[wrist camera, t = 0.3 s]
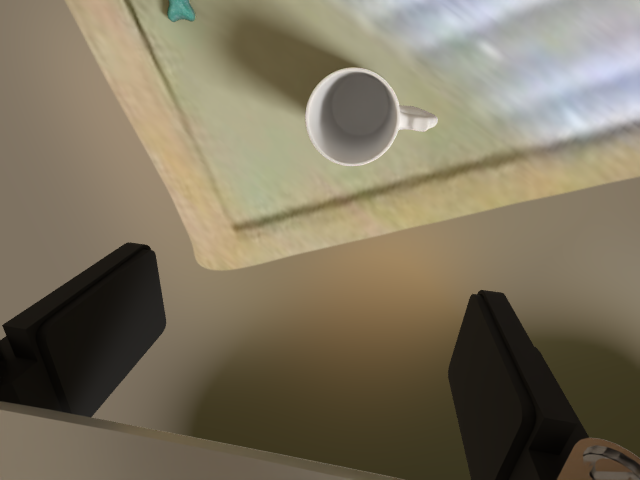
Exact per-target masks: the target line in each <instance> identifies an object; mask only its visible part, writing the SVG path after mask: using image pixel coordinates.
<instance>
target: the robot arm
mask: <svg viewBox="0 0 640 480" xmlns="http://www.w3.org/2000/svg"><path fill="white" fill-rule="evenodd" d="M2 326H3V328H4V331H5V333H6V337H4V338H3V339H2V340H0V480H403V479H399V478H394V477H389V476H384V475H379V474H374V473H370V472H365V471H360V470H355V469H350V468H344V467H340V466H335V465H330V464H325V463H320V462H315V461H310V460H305V459H300V458H296V457H291V456H286V455H281V454H276V453H271V452H265V451H260V450H255V449H250V448H245V447H240V446H235V445H230V444H225V443H220V442H215V441H210V440H204V439H199V438H194V437H189V436H184V435H179V434H174V433H169V432H164V431H159V430H153V429H149V428H143V427H137V426H132V425H127V424H122V423H116V422H112V421H107V420H101V419H96V418H91V417H92V416H93V415H94V413H95V412H96V411H97V410H98V409H99V407H100V406H101V405H102V404H103V403H104V402H105V400H106V399H107V398H108V397H109V396H110V394H111V393H112V392H113V391H114V390H115V388H116V387H117V386H118V385H119V384H120V383H121V381H122V380H123V379H124V378H125V377H126V375H127V374H128V373H129V372H130V371H131V369H132V368H133V367H134V366H135V365H136V363H137V362H138V361H139V360H140V359H141V358H142V356H143V355H144V354H145V353H146V352H147V350H148V349H149V348H150V347H151V346H152V345H153V343H154V342H155V341H156V340H157V339H158V337H159V336H160V335H161V334H162V332H163V331H164V329H165V326H166V317H165V311H164V305H163V298H162V292H161V286H160V280H159V273H158V267H157V260H156V255H155V252H154V251H152V250H151V248H150V247H149V246H148V245H144V244H136V243H126V244H124V245H122V246H121V247H119V248H118V249H116V250H115V251H113V252H112V253H111V254H109V255H107V256H106V257H104V258H103V259H101V260H100V261H99V262H97V263H96V264H94V265H92V266H91V267H89V268H88V269H87V270H85V271H83V272H82V273H81V274H79V275H77V276H76V277H74V278H73V279H71V280H70V281H68V282H67V283H65V284H64V285H63V286H61V287H59V288H58V289H56V290H55V291H53V292H52V293H50V294H49V295H47V296H46V297H44V298H43V299H41V300H40V301H39V302H37V303H35V304H34V305H32V306H31V307H29V308H28V309H26V310H25V311H23V312H22V313H20V314H19V315H17V316H15V317H14V318H13V319H11V320H9V321H8V322H6V323H5V324H4V325H2ZM448 378H449V382H450V387H451V392H452V396H453V400H454V405H455V409H456V414H457V418H458V422H459V427H460V432H461V436H462V440H463V445H464V449H465V454H466V458H467V462H468V467H469V471H470V476H471V480H640V458H639V457H637V456H636V455H634V454H633V453H632V452H630V451H628V450H626V449H625V448H623V447H621V446H619V445H617V444H615V443H612V442H609V441H606V440H603V439H596V438H589V436H588V435H587V433H586V431H585V429H584V428H583V426H582V424H581V422H580V421H579V419H578V417H577V415H576V414H575V412H574V410H573V409H572V407H571V405H570V404H569V402H568V400H567V398H566V397H565V395H564V393H563V391H562V389H561V388H560V386H559V384H558V383H557V381H556V379H555V378H554V376H553V374H552V372H551V371H550V369H549V367H548V365H547V364H546V362H545V360H544V358H543V357H542V355H541V353H540V352H539V351H538V349H537V348H536V347H534V346H533V344H532V342H531V340H530V339H529V337H528V335H527V333H526V331H525V330H524V328H523V326H522V324H521V323H520V321H519V319H518V317H517V316H516V314H515V312H514V310H513V309H512V307H511V305H510V303H509V302H508V300H507V298H506V296H505V295H504V294H503V293H500V292H493V291H484V290H480V291H479V292H478V294H477V295H476V294H472V295H471V297H470V299H469V303H468V305H467V309H466V313H465V316H464V319H463V322H462V325H461V328H460V332H459V335H458V339H457V342H456V345H455V348H454V352H453V355H452V358H451V362H450V365H449V370H448Z"/></svg>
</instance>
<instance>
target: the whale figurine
mask: <svg viewBox="0 0 640 480" xmlns="http://www.w3.org/2000/svg"><path fill="white" fill-rule="evenodd" d="M167 15H168V18H169V19H170V20H171V21H172V22H176V21H178V20H181V19H185V20H189V21H195V19H196V14H195V12H194V10H193V8H192V6H191V5H190V0H169V7H168V12H167Z"/></svg>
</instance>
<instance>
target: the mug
mask: <svg viewBox="0 0 640 480" xmlns="http://www.w3.org/2000/svg"><path fill="white" fill-rule="evenodd" d="M437 121H438V118H437V117H436V116H435V115H434V114H432V113H429V112H427V111H425V110H422V109H420V108H417V107H413V106H404V105H399V103H398V100H397V97H396V95H395V92H394V91H393V89H392V88H391V86H390V85H389V84H388V82H387V81H386V80H385V79H383V78H382V77H381V76H380V75H378V74H376V73H375V72H373V71H370V70H367V69H364V68H357V67H350V68H344V69H340V70H337V71H335V72H333V73H331V74H329V75H328V76H326V77H325V78H324V79H322V80H321V81H320V82H319V83H318V85H317V86H316V87H315V88H314V90H313V92H312V93H311V95H310V97H309V100H308V103H307V106H306V112H305V123H306V129H307V132H308V135H309V138H310V140H311V142H312V144H313V145H314V147H315V148H316V149H317V150H318V151H319V152H320V153H321V154H322V155H323V156H324V157H325V158H327V159H328V160H330V161H332V162H334V163H337V164H340V165H345V166H358V165H363V164H367V163H369V162H372V161H374V160H375V159H377V158H378V157H380V156H381V155H382V154H384V153H385V152H386V151H387V149H388V148H389V147H390V146H391V144H392V143H393V141H394V139H395V137H396V135H397V132H398V130H401V129H411V130H415V131H423V132H424V131H427V129H429V128H432V127H434V126H435V125H436V124H437Z"/></svg>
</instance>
